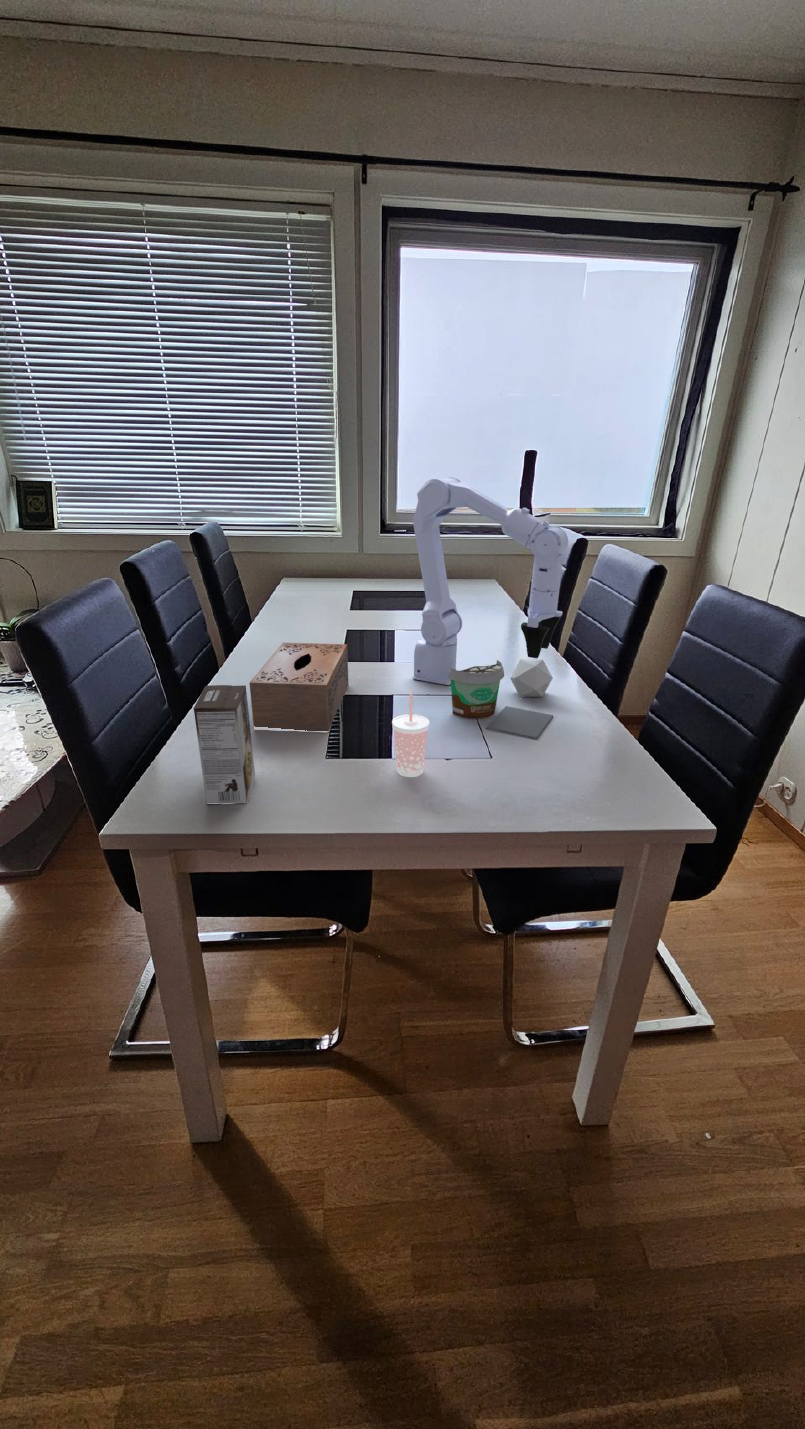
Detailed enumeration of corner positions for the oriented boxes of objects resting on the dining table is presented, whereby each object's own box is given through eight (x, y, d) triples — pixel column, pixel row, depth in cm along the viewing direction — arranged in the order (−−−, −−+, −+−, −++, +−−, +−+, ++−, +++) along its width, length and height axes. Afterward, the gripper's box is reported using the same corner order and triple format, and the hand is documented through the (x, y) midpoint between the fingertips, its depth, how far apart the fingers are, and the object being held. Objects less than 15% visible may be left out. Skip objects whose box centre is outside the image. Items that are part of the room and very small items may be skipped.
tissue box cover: (286, 684, 142) (283, 642, 138) (348, 686, 141) (347, 644, 137) (254, 731, 118) (249, 682, 114) (328, 734, 117) (326, 685, 113)
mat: (486, 728, 120) (486, 726, 120) (505, 707, 129) (506, 705, 129) (536, 739, 116) (536, 737, 115) (553, 716, 125) (553, 714, 125)
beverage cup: (430, 778, 101) (432, 699, 96) (393, 779, 101) (393, 700, 95) (426, 761, 107) (428, 685, 101) (390, 762, 106) (390, 686, 101)
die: (540, 707, 131) (564, 669, 131) (506, 686, 131) (530, 647, 131) (531, 706, 140) (554, 670, 139) (499, 686, 139) (522, 650, 139)
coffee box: (216, 776, 101) (204, 684, 95) (256, 775, 102) (247, 683, 96) (204, 806, 93) (191, 707, 87) (248, 804, 94) (238, 706, 87)
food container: (462, 725, 121) (465, 677, 117) (446, 714, 126) (448, 668, 122) (513, 714, 126) (517, 668, 122) (496, 704, 131) (499, 659, 127)
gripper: (555, 598, 119) (547, 665, 124) (572, 584, 131) (564, 646, 136) (520, 593, 122) (513, 659, 127) (540, 581, 134) (533, 641, 139)
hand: (538, 652), depth 132 cm, fingers open, 7 cm apart
